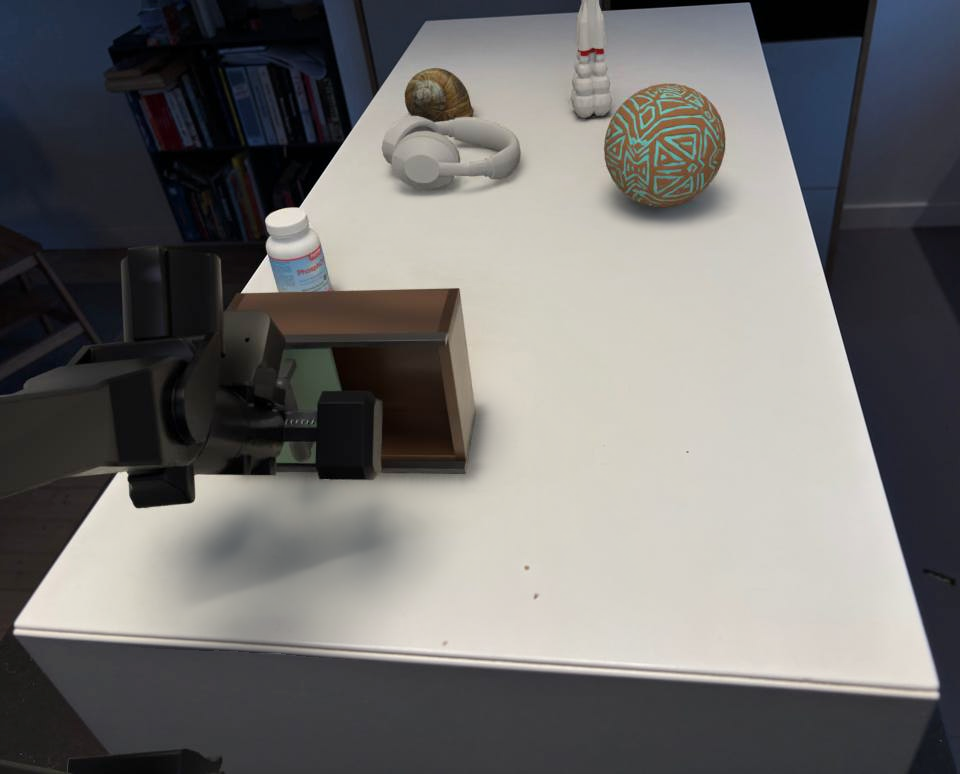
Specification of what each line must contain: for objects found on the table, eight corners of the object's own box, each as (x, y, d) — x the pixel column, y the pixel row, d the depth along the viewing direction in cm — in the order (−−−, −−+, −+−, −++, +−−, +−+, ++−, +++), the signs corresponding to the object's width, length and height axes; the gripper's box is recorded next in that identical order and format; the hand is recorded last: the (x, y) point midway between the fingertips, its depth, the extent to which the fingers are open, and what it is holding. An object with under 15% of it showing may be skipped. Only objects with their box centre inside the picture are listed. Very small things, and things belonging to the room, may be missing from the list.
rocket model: (597, 125, 130) (595, -89, 112) (560, 118, 134) (552, -90, 116) (622, 110, 134) (624, -99, 116) (585, 103, 138) (581, -100, 120)
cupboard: (465, 473, 71) (445, 339, 62) (249, 471, 74) (200, 343, 65) (476, 412, 78) (459, 283, 69) (276, 413, 81) (235, 289, 72)
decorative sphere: (738, 188, 108) (751, 74, 99) (688, 238, 100) (697, 117, 90) (638, 169, 116) (640, 61, 107) (583, 213, 107) (580, 99, 98)
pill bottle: (318, 320, 93) (294, 232, 86) (273, 313, 95) (247, 227, 88) (343, 292, 97) (323, 206, 90) (300, 286, 99) (276, 202, 92)
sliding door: (348, 495, 70) (315, 378, 62) (245, 493, 71) (200, 379, 63) (360, 459, 73) (330, 344, 65) (261, 458, 74) (220, 345, 66)
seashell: (404, 130, 137) (397, 82, 132) (411, 110, 144) (404, 64, 139) (471, 125, 135) (466, 77, 130) (475, 105, 143) (470, 58, 138)
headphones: (403, 205, 112) (537, 191, 118) (402, 150, 108) (541, 138, 114) (373, 159, 126) (494, 148, 132) (370, 108, 122) (496, 99, 127)
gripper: (349, 300, 51) (408, 342, 66) (76, 306, 54) (193, 345, 69) (344, 479, 49) (405, 480, 65) (64, 476, 52) (186, 477, 68)
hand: (295, 440), depth 67 cm, fingers open, 9 cm apart
